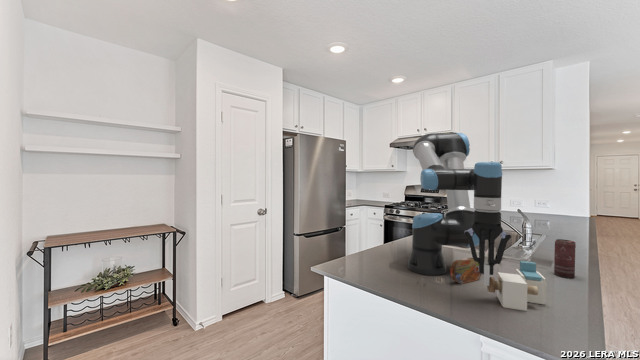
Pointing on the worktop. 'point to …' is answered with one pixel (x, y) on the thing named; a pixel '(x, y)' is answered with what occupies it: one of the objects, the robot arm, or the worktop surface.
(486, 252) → the architectural model
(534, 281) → the block
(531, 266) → the teal toy chair
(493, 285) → the pin
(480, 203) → the robot arm
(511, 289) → the cream block
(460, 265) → the tin
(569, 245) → the can
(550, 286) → the worktop surface
